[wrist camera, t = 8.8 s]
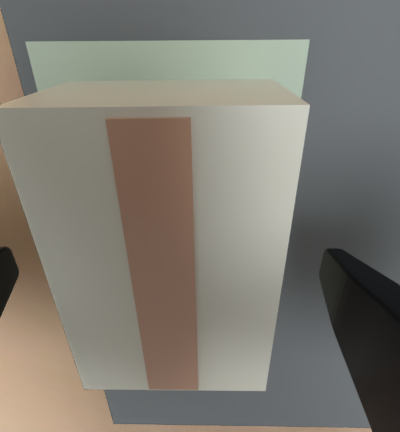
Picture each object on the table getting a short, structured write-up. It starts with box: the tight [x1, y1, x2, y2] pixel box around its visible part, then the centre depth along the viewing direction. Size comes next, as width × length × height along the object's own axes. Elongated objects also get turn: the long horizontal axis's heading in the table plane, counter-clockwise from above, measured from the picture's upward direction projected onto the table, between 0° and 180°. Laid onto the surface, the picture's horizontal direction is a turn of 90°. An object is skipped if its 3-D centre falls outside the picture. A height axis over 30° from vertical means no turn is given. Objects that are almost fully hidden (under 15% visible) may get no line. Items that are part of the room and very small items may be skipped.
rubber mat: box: [0, 0, 400, 428], centre depth 14 cm, size 22×18×1 cm
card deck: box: [0, 78, 310, 391], centre depth 10 cm, size 6×9×4 cm, turn 1°
